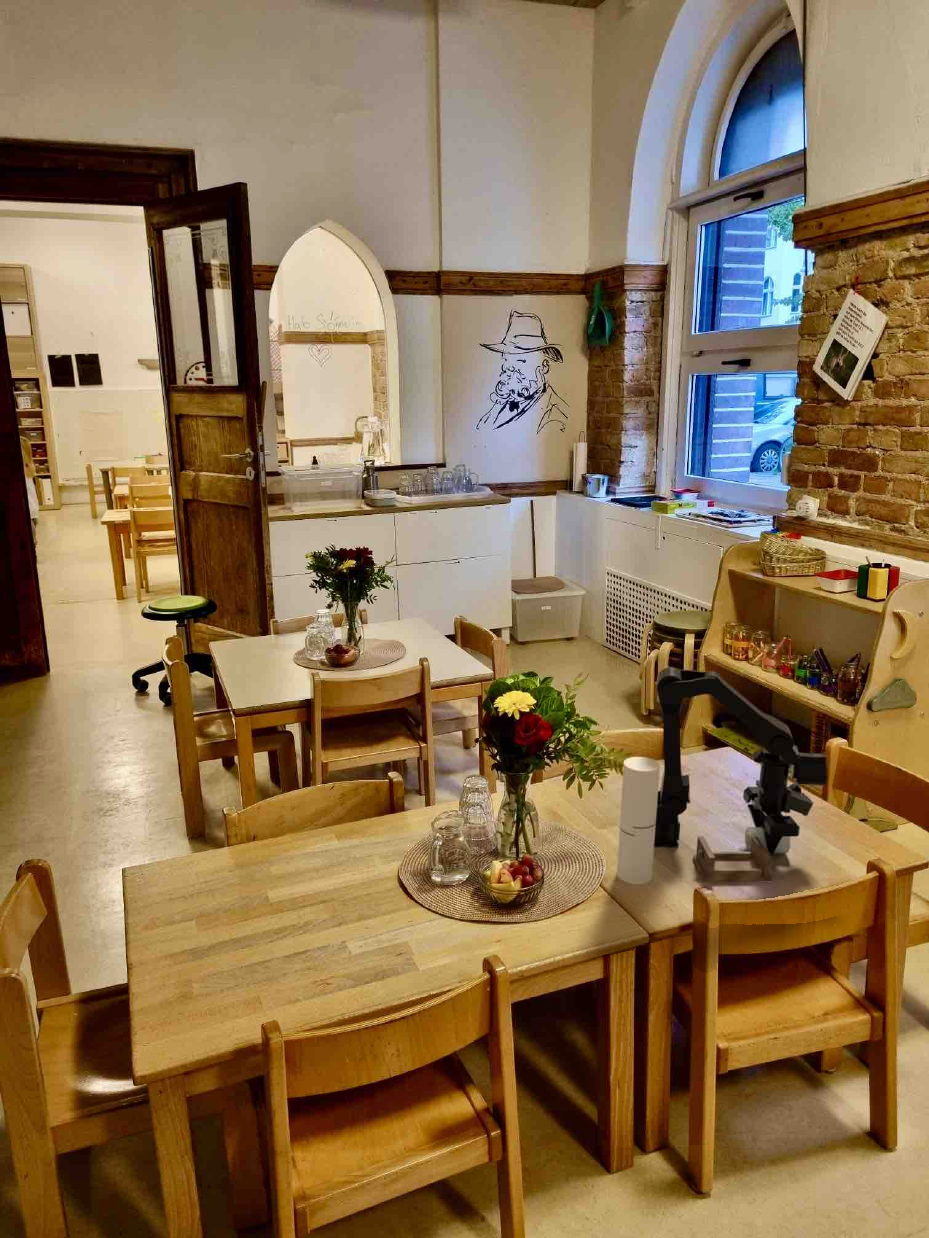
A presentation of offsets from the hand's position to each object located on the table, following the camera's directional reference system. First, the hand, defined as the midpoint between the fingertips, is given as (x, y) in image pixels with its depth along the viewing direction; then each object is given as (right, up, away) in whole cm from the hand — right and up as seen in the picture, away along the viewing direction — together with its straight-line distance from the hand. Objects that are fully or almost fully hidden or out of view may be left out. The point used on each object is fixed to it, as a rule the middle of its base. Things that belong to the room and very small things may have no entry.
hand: (766, 846), depth 201 cm
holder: (-10, -3, -8) cm, 13 cm away
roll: (0, -1, 0) cm, 1 cm away
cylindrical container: (-31, -4, -10) cm, 33 cm away
